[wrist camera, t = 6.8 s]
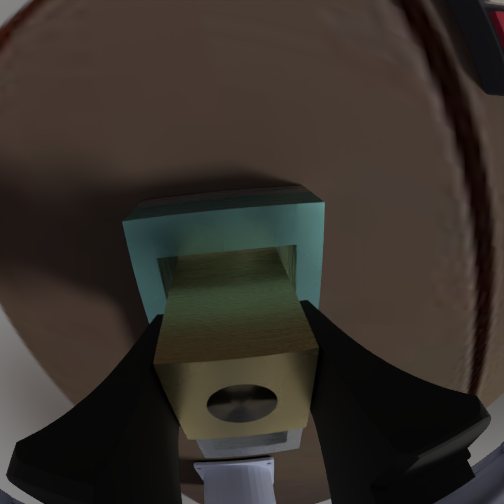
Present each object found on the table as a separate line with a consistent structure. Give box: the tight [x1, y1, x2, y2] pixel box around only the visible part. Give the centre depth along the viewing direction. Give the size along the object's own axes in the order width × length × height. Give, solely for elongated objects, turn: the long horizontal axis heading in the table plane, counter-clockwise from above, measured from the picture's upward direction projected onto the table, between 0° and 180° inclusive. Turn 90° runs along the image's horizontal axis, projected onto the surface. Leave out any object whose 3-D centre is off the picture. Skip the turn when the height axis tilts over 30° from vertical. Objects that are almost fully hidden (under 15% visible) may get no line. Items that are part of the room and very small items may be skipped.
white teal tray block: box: [122, 185, 325, 458], centre depth 14 cm, size 18×7×3 cm, turn 3°
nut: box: [153, 247, 319, 439], centre depth 10 cm, size 4×4×6 cm
